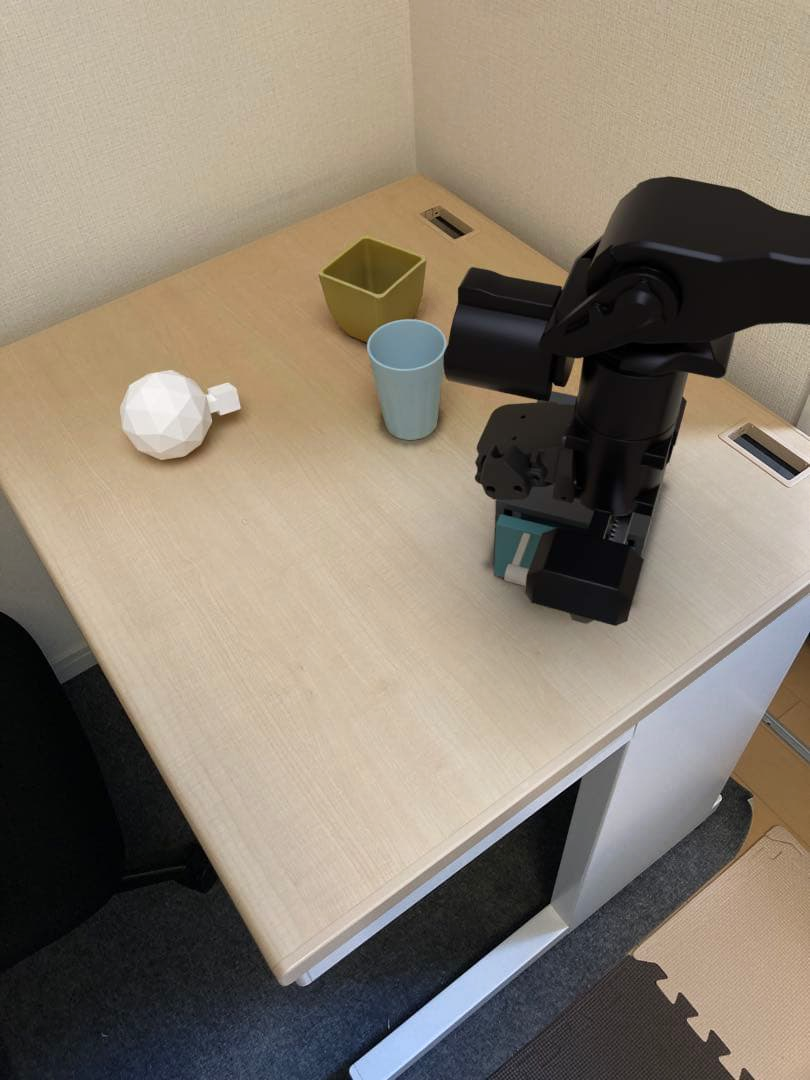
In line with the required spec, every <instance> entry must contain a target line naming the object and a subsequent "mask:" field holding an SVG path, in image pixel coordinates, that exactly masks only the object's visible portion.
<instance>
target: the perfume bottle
mask: <svg viewBox="0 0 810 1080" xmlns="http://www.w3.org/2000/svg"><path fill="white" fill-rule="evenodd" d="M237 389H238V388H237V387H235V386H234V385H232V384H231V383H229V382H224V383H221V384H217V385H215V386H212V387H208V388H207V392H208V393H207V394H205V393H204V391H203V390H202V389H201V387H200V386H199V385H198V383H197V382H196V381H195V380H194V379H193V378H189V377H188V376H187V375H183V374H181V373H179V372H177V371H176V370H173V369H169V370H161V371H157V372H150V373H147V374H146V375H143V376H142V377H140V378H139V379H136V381H134V382H132V383H130V384H129V386H128V387H127V391H126V393H125V396H124V397H123V400H122V402H121V404H120V406H119V413H120V419H121V427H122V430H123V432H124V433H125V435H126V436H127V437H128V439H129V440H130V442H131V443H132V444H133V446H134V447H135V448H136V450H137V451H139V452H141V453H144V454H145V455H148V456H150V457H153V458H155V459H157V460H159V461H163V460H170V459H177V458H182V457H183V458H184V457H187V455H189V454H190V453H191V452H193V451H194V450H196V449H197V448H198V447H199V446H201V445H202V443H203V441H204V440H205V437H206V435H207V433H208V431H209V430H210V428H211V425H212V423H213V419H212V418H213V417H212V414H213V413H217V414H218V416H223V415H226V414H230V413H233V412H235V411H239V410H240V409H242V407H241V403H240V398H239V394H238V390H237Z"/></svg>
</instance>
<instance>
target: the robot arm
mask: <svg viewBox="0 0 810 1080" xmlns="http://www.w3.org/2000/svg"><path fill="white" fill-rule="evenodd" d="M779 324H792V325H793V324H794V325H803V326H810V215H805V214H801V213H796V212H795V213H794V212H791V211H785V210H780V209H778V208H776V207H774V206H772V205H770V204H768V203H766V202H765V201H763V200H762V199H761V200H760V199H759V198H757V197H755V196H753V195H751V194H749V193H748V192H746V191H744V190H741V189H740V188H735V187H731V186H725V185H721V184H715V183H710V182H706V181H700V180H694V179H690V178H684V177H678V176H669V175H668V176H660V177H652V178H649V179H646V180H643V181H640V182H638V183H637V184H636V186H635V187H634V188H632V189H631V190H630V191H629V192H628V193H626V194H625V195H624V196H623V197H622V198H620V200H619V201H618V203H617V205H616V206H615V208H614V210H613V212H612V213H611V215H610V218H609V220H608V223H607V224H606V228H605V230H604V232H603V234H602V235H600V236H599V237H598V238H597V239H596V240H595V241H594V242H593V243H592V244H590V245H589V246H588V247H587V248H586V249H584V250H583V252H582V253H580V254H579V255H578V256H577V257H576V258H575V260H574V261H573V264H572V266H571V268H570V271H569V273H568V276H567V277H566V280H565V282H564V283H563V286H562V285H556V284H552V283H547V282H541V281H536V280H530V279H524V278H518V277H513V276H508V275H504V274H501V273H499V272H496V271H494V270H491V269H486V268H480V267H475V266H471V267H469V268H468V269H467V272H466V273H465V275H464V277H463V278H462V280H461V282H460V284H459V286H458V287H457V305H456V307H455V311H454V314H453V317H452V321H451V327H450V331H449V336H448V342H447V347H446V349H445V351H444V357H443V365H444V369H443V374H444V376H445V379H446V380H447V381H448V382H452V383H456V384H460V385H465V386H470V387H476V388H479V389H484V390H488V391H489V390H490V391H493V392H498V393H502V394H507V395H513V396H516V397H521V398H525V399H529V400H535V401H536V402H523V403H522V402H521V403H520V402H519V403H507V404H503V405H501V406H498V407H496V408H495V409H494V410H493V411H492V413H490V416H489V418H488V420H487V422H486V425H485V426H484V429H483V431H482V433H481V435H480V437H479V440H478V442H477V444H476V452H477V457H476V459H475V462H474V464H475V466H476V473H475V475H474V480H475V482H476V483H477V484H479V485H481V486H482V489H483V491H484V494H485V495H486V496H487V497H488V498H490V499H491V500H495V501H496V500H524V499H526V498H527V497H528V496H529V494H530V491H531V489H532V488H533V487H547V486H550V485H552V484H554V490H553V498H552V499H555V500H559V501H563V502H567V503H573V501H574V498H575V499H579V502H580V504H581V505H583V506H584V507H586V508H588V509H590V510H592V511H594V513H593V516H592V519H591V522H590V525H589V528H588V531H587V534H582V533H578V532H574V531H570V530H566V529H562V528H558V527H557V528H555V529H552V530H549V531H547V532H544V533H542V534H541V537H540V540H539V543H538V545H537V548H536V551H535V554H534V556H533V559H532V562H531V565H530V567H529V570H528V573H527V577H526V586H524V594H525V596H526V598H528V600H529V601H530V603H531V604H534V605H537V606H541V607H545V608H549V609H552V610H554V611H555V610H556V611H558V612H562V613H566V614H569V616H570V618H571V620H572V621H573V622H577V623H581V624H585V625H587V624H589V623H592V622H594V621H596V622H599V623H602V624H606V625H610V626H613V627H617V626H620V625H622V624H624V623H626V622H628V620H629V617H630V612H631V609H632V606H633V602H634V599H635V595H636V590H637V588H638V583H639V579H640V576H641V572H642V568H643V564H644V561H645V559H644V558H643V556H642V557H641V556H640V555H639V554H638V553H637V552H636V551H635V550H634V548H633V547H632V546H630V545H626V544H625V541H626V538H627V534H628V531H629V527H630V524H631V520H632V517H633V514H634V513H637V514H641V515H645V516H649V517H651V516H652V513H653V509H654V505H655V502H656V498H657V494H658V491H659V487H660V484H661V480H662V476H663V473H664V469H665V467H666V468H667V466H668V464H669V463H670V461H671V457H672V454H673V452H674V451H673V450H674V448H675V446H676V443H677V440H678V436H679V432H680V429H681V425H682V422H683V418H684V414H685V410H686V406H687V403H688V402H687V400H686V398H685V397H684V392H685V389H686V384H687V381H688V376H689V374H693V375H696V376H697V375H698V376H703V377H708V378H713V379H722V378H723V377H725V376H726V374H727V371H728V367H729V362H730V358H731V354H732V350H733V346H734V341H735V338H736V333H739V332H741V331H745V330H747V329H750V328H753V327H756V326H761V325H779ZM576 359H582V364H581V371H580V377H579V385H578V386H579V387H578V393H577V395H576V396H577V398H576V401H575V405H569V404H558V403H556V402H549V399H550V396H551V392H552V391H553V386H555V387H560V388H566V386H567V384H568V381H569V380H570V377H571V374H572V371H573V368H574V364H575V360H576ZM537 400H539V401H541V400H542V401H547V402H537ZM666 465H667V466H666ZM609 523H610V524H613V525H612V528H611V533H610V535H609V538H608V540H606V539H604V538H605V535H606V532H607V528H608V525H609Z"/></svg>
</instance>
